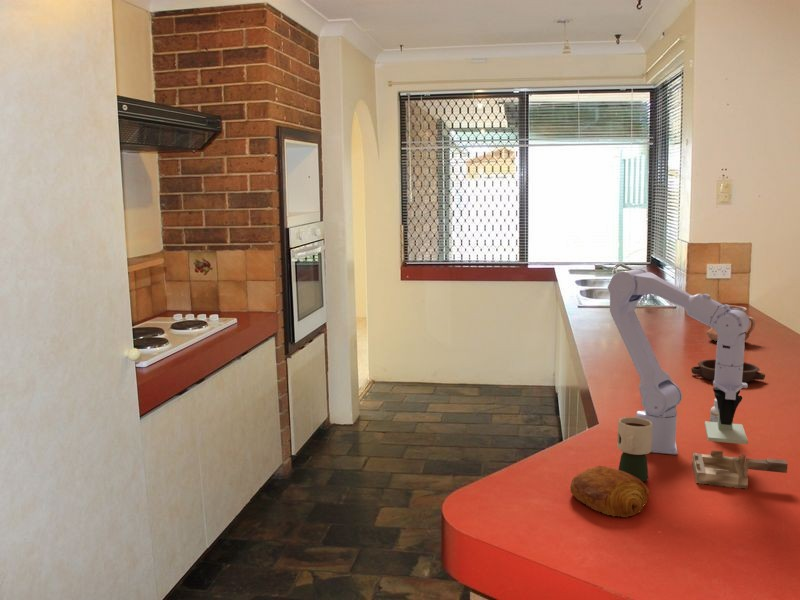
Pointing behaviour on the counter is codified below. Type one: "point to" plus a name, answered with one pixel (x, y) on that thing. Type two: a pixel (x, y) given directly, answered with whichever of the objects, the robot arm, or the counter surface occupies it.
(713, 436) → the lid
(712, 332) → the ceramic jug
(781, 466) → the brown rectangular bar
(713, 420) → the supplement bottle
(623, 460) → the character mug
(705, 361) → the dish
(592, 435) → the counter surface
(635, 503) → the croissant
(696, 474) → the box
